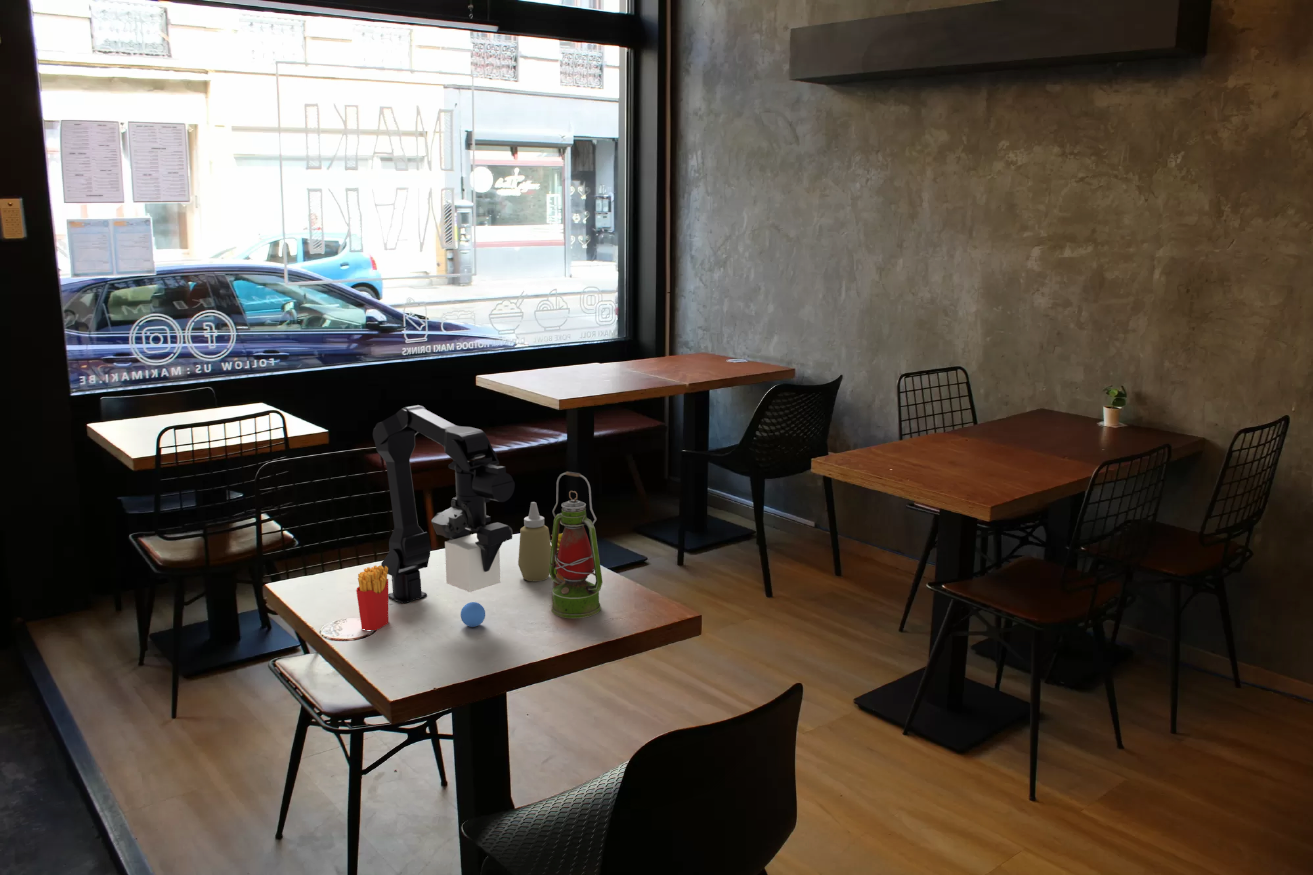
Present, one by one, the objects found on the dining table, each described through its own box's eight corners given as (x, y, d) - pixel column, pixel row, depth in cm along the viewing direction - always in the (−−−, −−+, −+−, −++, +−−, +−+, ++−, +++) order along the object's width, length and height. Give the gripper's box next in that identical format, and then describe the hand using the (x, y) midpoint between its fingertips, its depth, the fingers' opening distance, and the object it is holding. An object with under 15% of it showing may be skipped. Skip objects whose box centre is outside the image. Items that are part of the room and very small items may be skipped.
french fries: (371, 633, 213) (367, 577, 210) (354, 631, 214) (350, 574, 212) (396, 618, 221) (392, 564, 218) (380, 616, 222) (376, 561, 219)
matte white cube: (446, 583, 215) (444, 541, 213) (476, 573, 221) (475, 533, 219) (470, 592, 210) (468, 549, 208) (500, 582, 215) (499, 541, 214)
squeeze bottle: (515, 573, 247) (512, 499, 243) (549, 570, 249) (547, 496, 245) (521, 585, 239) (519, 509, 235) (556, 581, 242) (554, 505, 238)
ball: (479, 604, 220) (468, 626, 219) (462, 595, 217) (451, 618, 215) (494, 610, 217) (483, 632, 215) (477, 601, 213) (466, 624, 212)
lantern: (534, 610, 224) (530, 473, 218) (564, 595, 233) (560, 463, 227) (588, 623, 217) (585, 482, 211) (617, 606, 226) (615, 471, 220)
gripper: (409, 492, 212) (413, 566, 215) (467, 510, 199) (470, 588, 203) (454, 481, 220) (458, 553, 223) (512, 498, 207) (515, 573, 211)
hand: (473, 566), depth 215 cm, fingers closed on matte white cube, 8 cm apart
